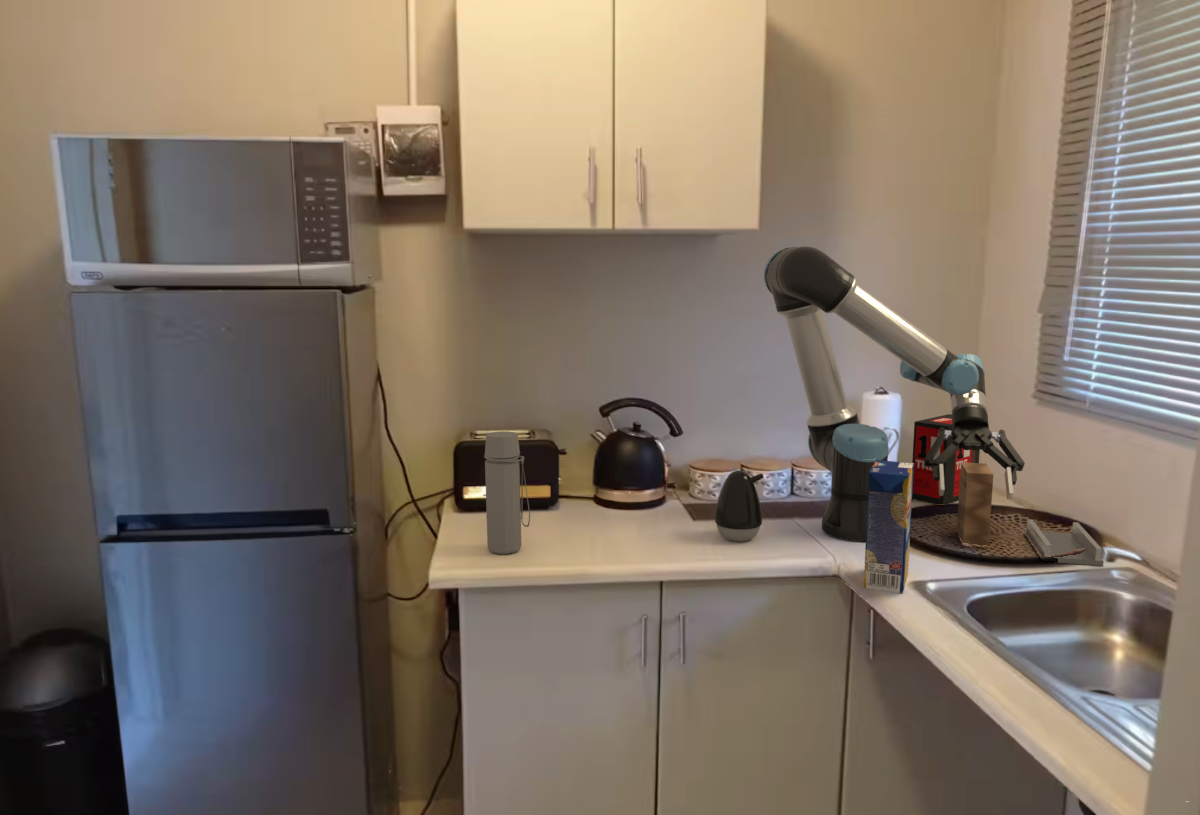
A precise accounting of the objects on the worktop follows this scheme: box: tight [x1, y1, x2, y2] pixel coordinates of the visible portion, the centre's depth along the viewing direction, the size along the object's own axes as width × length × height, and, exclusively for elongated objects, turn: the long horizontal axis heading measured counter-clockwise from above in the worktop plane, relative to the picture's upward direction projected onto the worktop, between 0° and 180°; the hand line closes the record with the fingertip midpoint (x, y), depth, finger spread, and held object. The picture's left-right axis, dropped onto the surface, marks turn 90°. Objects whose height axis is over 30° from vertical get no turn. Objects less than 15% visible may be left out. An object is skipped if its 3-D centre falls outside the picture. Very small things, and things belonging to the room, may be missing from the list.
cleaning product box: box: [911, 413, 981, 505], centre depth 218 cm, size 16×9×20 cm, turn 129°
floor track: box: [1023, 519, 1105, 567], centre depth 178 cm, size 11×18×4 cm, turn 164°
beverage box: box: [863, 460, 914, 594], centre depth 160 cm, size 7×11×22 cm, turn 156°
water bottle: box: [483, 430, 531, 555], centre depth 179 cm, size 9×8×25 cm
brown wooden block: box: [956, 462, 994, 546], centre depth 184 cm, size 5×10×16 cm, turn 164°
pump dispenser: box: [714, 470, 764, 543], centre depth 187 cm, size 10×10×15 cm
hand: (975, 494), depth 184 cm, fingers open, 13 cm apart
